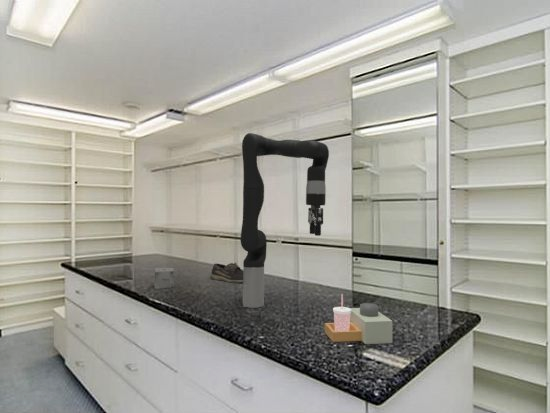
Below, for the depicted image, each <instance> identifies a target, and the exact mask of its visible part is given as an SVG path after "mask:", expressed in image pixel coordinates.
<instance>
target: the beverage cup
mask: <svg viewBox="0 0 550 413" xmlns="http://www.w3.org/2000/svg"><path fill="white" fill-rule="evenodd" d="M343 297H344V294H343V293H341V304H340V305H341V306H335V307H333V308H332V311H333V323H334V324H335V331H349V329H350V313H351V309H350V308H351V307H346V306H343V305H344V298H343Z"/></svg>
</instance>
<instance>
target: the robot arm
mask: <svg viewBox="0 0 550 413" xmlns="http://www.w3.org/2000/svg"><path fill="white" fill-rule="evenodd" d="M241 152H242V165H243V166H242V167H243V187H242V199H243V200H242V224H241V230H240V245H241V247H242V249H243V250H244V251H246V252H247V253H246V254H247V255H246V256H245V258H244V260H243V261H242V262H243V263H242V264H243V265H242V267H243V269H242V271H243V282H242V307H243V308H248V309H249V308H250V309H257V308H261V307H264V306H265V262H266V258H267V246H268V245H267V243H268V242H267V236H266V234H265V232H264V231H262V230H260V229H259V226H258V225H259V224H258V223H259V218H260V213H261V211H262V208H263V205H264V202H265V201H264V200H265V183H264V180H263V178H262V175H261V173H260V170H259V167H258V157H262V156H282V157H287V158H296V159H301V158H303V159H310V160H312V163H311V166H308V167H307V169H306V170H307V171H306V186H305V187H306V188H305V190H306V191H305V205H307V206H310V207H308V212H307V213H308V214H307V217H308V218H307V223H308V225H309V234H311V235H315V236H317V237H319V236H321V235H322V226H323V224H324V207H321V206H326V195H327V194H326V191H327V189H326V170H327V165H328V163H329V162H328V161H329V157H330V150H329V147H328V146H327V144H326V143H324V142H321V141H317V140H311V139H310V140H308V139H306V140H299V139H298V140H297V139H282V140H278V139H277V140H276V139H271V138H268V137H266V136H263V135H261V134H257V133H253V132H249V133H246V134H245V135H244V137H243V139H242V143H241Z"/></svg>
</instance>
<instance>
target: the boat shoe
mask: <svg viewBox="0 0 550 413" xmlns="http://www.w3.org/2000/svg"><path fill="white" fill-rule="evenodd" d="M210 279H211V280H213V281H224V282H226V283H230V284H240V283H243V269H241V267H240V266H239V264H238V263H237V262H234V263H233V262H230V263H228V264H227V265H225V264H222V263H214V264H213V266H212V269H211V274H210Z"/></svg>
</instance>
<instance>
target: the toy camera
mask: <svg viewBox="0 0 550 413" xmlns="http://www.w3.org/2000/svg"><path fill="white" fill-rule="evenodd" d="M349 308H350V309H351V313H350V329H349V331H335V324H334V322H324V333H325V334H326V335H327V337H328V338H329V339H330V340H331V341H332V343H337V342H339V343H341V342H342V343H343V342H358V341H359V342H362V343H364V345H376V344H377V345H381V344H393V320H392V319H390V318H389V317H387V316H386V315H384V314H382V313H381V312H380V311H379V305H378V304H376V303H371V302H362V303H360V304H359V307H349Z"/></svg>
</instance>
